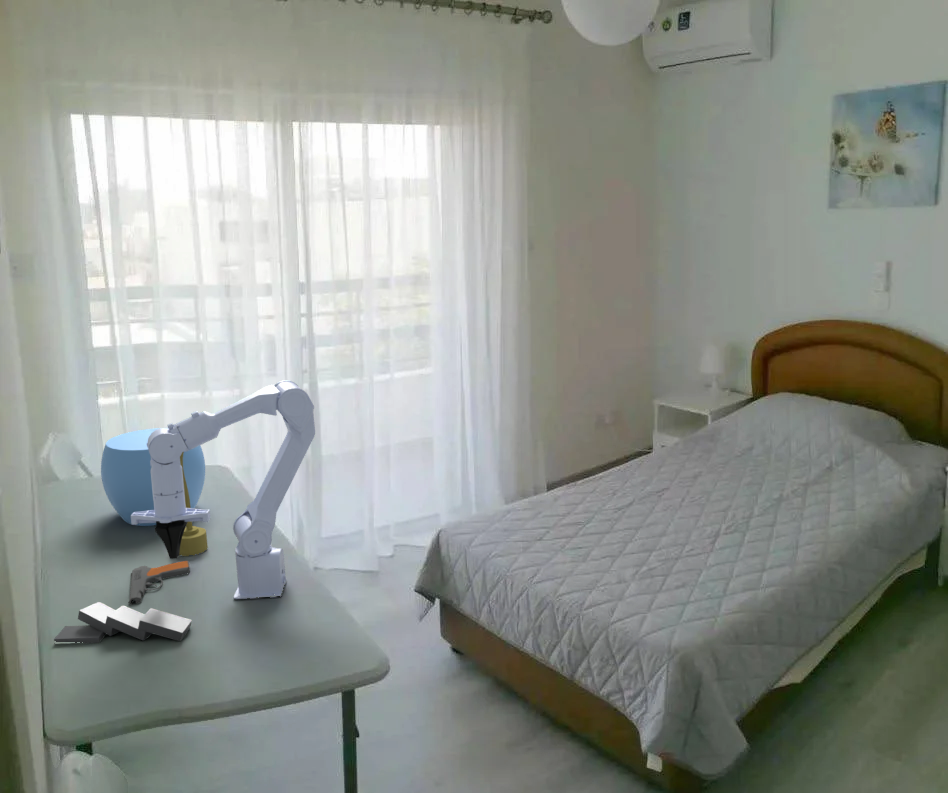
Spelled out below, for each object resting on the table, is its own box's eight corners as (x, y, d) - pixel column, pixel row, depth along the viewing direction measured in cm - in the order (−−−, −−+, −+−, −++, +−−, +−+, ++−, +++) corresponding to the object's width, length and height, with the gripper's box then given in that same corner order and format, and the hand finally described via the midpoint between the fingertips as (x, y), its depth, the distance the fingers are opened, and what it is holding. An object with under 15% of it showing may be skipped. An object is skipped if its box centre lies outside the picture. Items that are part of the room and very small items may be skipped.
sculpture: (166, 548, 194) (153, 423, 188) (196, 539, 199) (184, 418, 193) (187, 562, 186) (173, 432, 180) (217, 552, 191) (205, 426, 185)
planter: (181, 491, 234) (174, 421, 230) (227, 512, 217) (220, 436, 213) (91, 515, 217) (81, 440, 213) (132, 539, 200) (123, 458, 195)
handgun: (191, 596, 171) (128, 606, 167) (189, 566, 185) (131, 575, 181) (190, 588, 170) (127, 598, 166) (188, 559, 185) (130, 567, 181)
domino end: (108, 624, 156) (65, 626, 156) (98, 637, 152) (53, 639, 151) (109, 633, 157) (66, 634, 157) (99, 646, 152) (55, 648, 152)
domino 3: (192, 620, 156) (150, 608, 156) (182, 632, 152) (139, 620, 151) (190, 628, 157) (148, 616, 156) (180, 641, 152) (137, 628, 152)
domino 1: (131, 618, 157) (99, 601, 160) (112, 627, 153) (79, 610, 155) (129, 626, 158) (97, 610, 160) (110, 636, 153) (77, 618, 156)
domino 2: (160, 620, 156) (122, 605, 157) (145, 632, 151) (107, 615, 153) (158, 629, 156) (121, 613, 158) (143, 640, 152) (105, 624, 153)
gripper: (122, 498, 156) (129, 566, 159) (201, 496, 157) (207, 563, 160) (135, 486, 163) (141, 551, 166) (210, 484, 164) (215, 549, 167)
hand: (174, 556), depth 164 cm, fingers closed
